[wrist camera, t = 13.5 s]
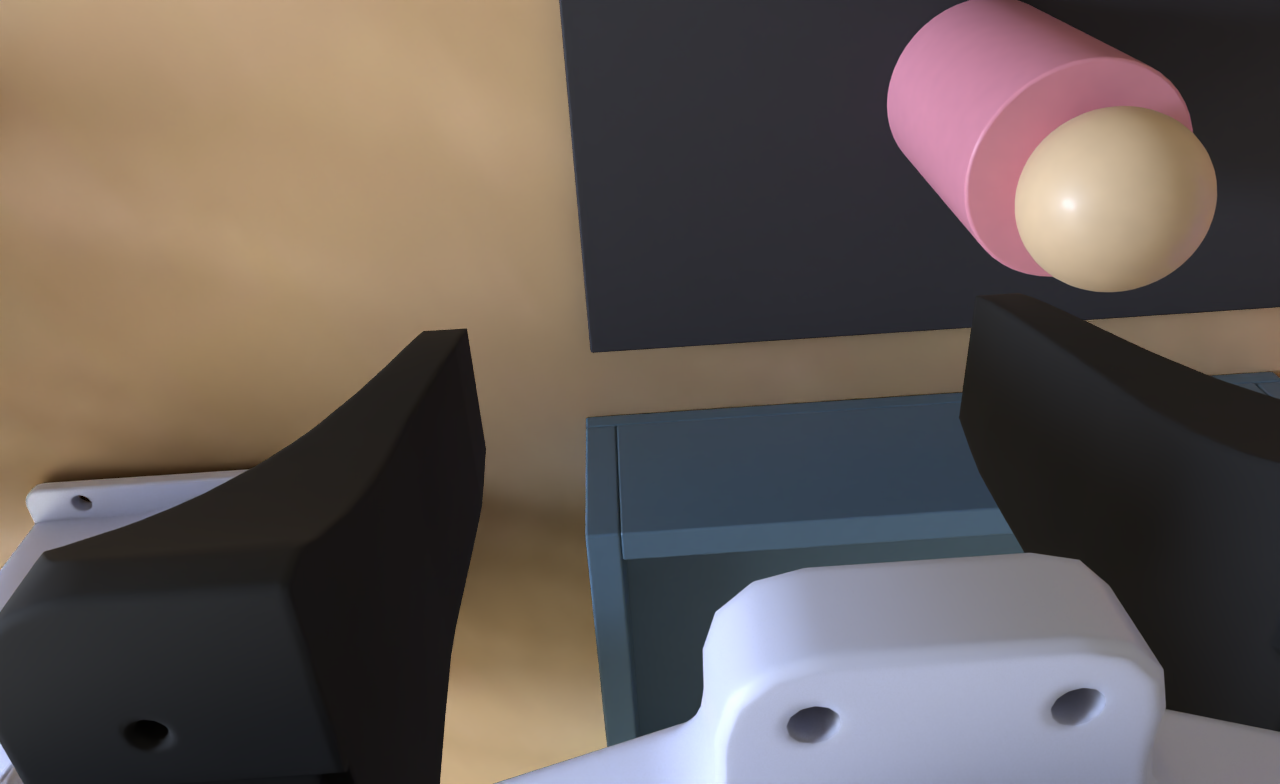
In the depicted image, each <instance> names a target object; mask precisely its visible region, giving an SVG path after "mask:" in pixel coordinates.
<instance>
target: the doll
mask: <svg viewBox="0 0 1280 784" xmlns="http://www.w3.org/2000/svg"><path fill="white" fill-rule="evenodd" d="M887 113H888V120H889V125H890V129H891V132H892V134H893V137H894V139H895V141H896V143H897V145H898V147H899V148H900V149H901V151H902V152H903V153H904V155H905V156H906V157H907V158H908V160H909V161H910V162H911V163H912V164H913V166H914V167H915V168H916V169H917V170H918V171H919V173H920V174H921V175H922V176H923V177H924V179H925V180H926V181H927V182H928V183H929V185H930V186H931V187H932V188H933V189H934V190H935V192H936V193H937V194H938V195H939V196H940V198H941V199H942V200H943V201H944V202H945V204H946V205H947V206H948V207H949V208H950V209H951V211H952V212H953V213H954V214H955V215H956V217H957V218H958V219H959V220H960V221H961V223H962V224H963V225H964V226H965V227H966V228H967V230H968V231H969V232H970V233H971V234H972V236H973V237H974V238H975V239H976V240H977V241H978V243H979V244H980V245H981V246H982V247H983V249H984V250H985V251H986V252H988V253H989V254H990V255H991V256H992V257H993V258H994V259H996V260H997V261H999V262H1000V263H1001V264H1003V265H1005V266H1007V267H1009V268H1011V269H1013V270H1016V271H1019V272H1022V273H1025V274H1031V275H1036V276H1049V277H1054V278H1056V279H1058V280H1060V281H1062V282H1064V283H1066V284H1068V285H1070V286H1073V287H1076V288H1080V289H1084V290H1089V291H1095V292H1121V291H1127V290H1133V289H1136V288H1139V287H1143V286H1146V285H1149V284H1151V283H1153V282H1156V281H1158V280H1160V279H1162V278H1164V277H1165V276H1167V275H1169V274H1170V273H1172V272H1173V271H1175V270H1176V269H1177V268H1178V267H1180V266H1181V265H1182V264H1183V263H1184V262H1185V261H1186V260H1187V259H1188V258H1189V257H1190V256H1191V255H1192V254H1193V253H1194V252H1195V251H1196V249H1197V248H1198V247H1199V245H1200V244H1201V242H1202V241H1203V239H1204V238H1205V236H1206V234H1207V232H1208V230H1209V227H1210V225H1211V222H1212V220H1213V216H1214V212H1215V208H1216V202H1217V180H1216V175H1215V170H1214V167H1213V165H1212V162H1211V159H1210V157H1209V154H1208V153H1207V151H1206V149H1205V147H1204V146H1203V145H1202V143H1201V142H1200V141H1199V139H1198V138H1197V137H1196V136H1195V135H1194V134H1193V129H1192V123H1191V118H1190V114H1189V111H1188V109H1187V106H1186V103H1185V101H1184V100H1183V98H1182V96H1181V94H1180V93H1179V91H1178V90H1177V88H1176V87H1175V86H1174V85H1173V84H1172V82H1171V81H1170V80H1169V79H1167V78H1166V77H1165V76H1164V75H1163V74H1162V73H1160V72H1159V71H1157V70H1156V69H1154V68H1152V67H1150V66H1149V65H1147V64H1145V63H1143V62H1141V61H1139V60H1137V59H1135V58H1133V57H1131V56H1129V55H1127V54H1125V53H1123V52H1121V51H1119V50H1117V49H1115V48H1113V47H1111V46H1109V45H1107V44H1105V43H1103V42H1102V41H1100V40H1098V39H1096V38H1094V37H1092V36H1090V35H1088V34H1086V33H1084V32H1082V31H1080V30H1078V29H1076V28H1074V27H1072V26H1070V25H1068V24H1066V23H1064V22H1062V21H1060V20H1058V19H1056V18H1054V17H1052V16H1050V15H1048V14H1046V13H1044V12H1042V11H1040V10H1038V9H1036V8H1035V7H1033V6H1031V5H1029V4H1026V3H1024V2H1021V1H1018V0H969V1H966V2H963V3H960V4H957V5H955V6H953V7H951V8H949V9H947V10H945V11H943V12H942V13H940V14H939V15H937V16H936V17H934V18H933V19H932V20H930V21H929V22H928V23H927V24H926V25H924V26H923V27H922V28H921V29H920V30H919V31H918V32H917V33H916V34H915V36H914V37H913V38H912V39H911V41H910V42H909V43H908V45H907V46H906V47H905V49H904V51H903V52H902V54H901V56H900V57H899V59H898V61H897V64H896V66H895V68H894V71H893V74H892V77H891V80H890V84H889V89H888V97H887Z"/></svg>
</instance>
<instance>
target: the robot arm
mask: <svg viewBox="0 0 1280 784" xmlns="http://www.w3.org/2000/svg"><path fill="white" fill-rule="evenodd" d="M959 419H960V422H961V425H962V428H963V431H964V434H965V436H966V439H967V442H968V445H969V448H970V451H971V453H972V456H973V458H974V461H975V463H976V466H977V468H978V471H979V473H980V475H981V477H982V479H983V481H984V482H985V484H986V486H987V488H988V490H989V492H990V493H991V495H992V497H993V499H994V500H995V502H996V504H997V506H998V508H999V509H1000V511H1001V513H1002V515H1003V516H1004V518H1005V520H1006V522H1007V523H1008V525H1009V527H1010V529H1011V530H1012V532H1013V534H1014V536H1015V537H1016V539H1017V541H1018V543H1019V544H1020V546H1021V548H1022V549H1023V551H1024V553H1019V554H1004V555H989V556H974V557H959V558H944V559H929V560H914V561H899V562H884V563H870V564H855V565H840V566H825V567H810V568H802V569H798V570H795V571H791V572H787V573H784V574H780V575H776V576H772V577H769V578H765V579H761V580H758V581H754V582H752V583H751V584H749V585H748V586H747V587H746V588H744V589H743V590H742V591H741V592H739V593H738V594H737V595H736V596H735V597H733V598H732V599H731V600H730V601H728V602H727V603H726V604H725V605H724V606H722V607H721V608H720V609H719V610H717V611H716V612H715V615H714V618H713V621H712V624H711V626H710V629H709V632H708V635H707V638H706V641H705V644H704V647H703V681H704V690H703V696H702V702H701V707H700V708H699V710H698V712H697V714H696V715H695V716H694V717H693V718H691V719H690V720H689V721H687V722H684V723H681V724H678V725H675V726H672V727H669V728H666V729H663V730H659V731H656V732H653V733H650V734H647V735H644V736H641V737H638V738H635V739H631V740H628V741H625V742H622V743H619V744H616V745H613V746H610V747H606V748H603V749H600V750H597V751H594V752H591V753H588V754H585V755H581V756H578V757H575V758H572V759H569V760H566V761H563V762H560V763H556V764H553V765H550V766H547V767H544V768H541V769H538V770H535V771H532V772H528V773H525V774H522V775H519V776H516V777H513V778H510V779H507V780H503V781H500V782H497V783H494V784H1280V399H1278V398H1274V397H1271V396H1268V395H1265V394H1262V393H1259V392H1256V391H1253V390H1250V389H1247V388H1244V387H1241V386H1237V385H1234V384H1231V383H1228V382H1225V381H1222V380H1220V379H1217V378H1214V377H1212V376H1209V375H1206V374H1203V373H1201V372H1198V371H1196V370H1193V369H1191V368H1189V367H1186V366H1184V365H1181V364H1179V363H1176V362H1174V361H1171V360H1169V359H1167V358H1164V357H1162V356H1159V355H1157V354H1155V353H1153V352H1150V351H1148V350H1146V349H1144V348H1141V347H1139V346H1137V345H1135V344H1133V343H1130V342H1128V341H1126V340H1124V339H1122V338H1120V337H1118V336H1115V335H1113V334H1111V333H1109V332H1107V331H1105V330H1103V329H1101V328H1099V327H1096V326H1094V325H1092V324H1090V323H1088V322H1086V321H1084V320H1082V319H1080V318H1078V317H1076V316H1074V315H1071V314H1069V313H1067V312H1065V311H1063V310H1061V309H1059V308H1056V307H1054V306H1052V305H1050V304H1048V303H1045V302H1043V301H1040V300H1038V299H1035V298H1033V297H1030V296H1027V295H1024V294H1021V293H1010V294H995V295H979V296H976V298H975V305H974V313H973V320H972V327H971V334H970V342H969V349H968V356H967V363H966V370H965V378H964V385H963V392H962V399H961V406H960V414H959ZM485 455H486V446H485V440H484V434H483V428H482V421H481V415H480V409H479V402H478V396H477V390H476V383H475V377H474V371H473V365H472V358H471V352H470V346H469V339H468V333H467V329H452V330H436V331H423V332H422V333H421V334H420V335H418V336H417V337H416V338H415V339H414V340H413V341H412V342H411V343H410V344H409V345H408V346H406V347H405V348H404V349H403V350H402V351H401V352H400V353H399V354H398V355H397V356H396V357H395V358H394V359H393V360H392V361H391V362H390V363H389V364H388V365H387V366H386V367H385V368H383V369H382V370H381V371H380V372H379V373H378V374H377V375H376V376H375V377H374V378H373V379H372V380H370V381H369V382H368V383H367V384H366V385H365V386H364V387H363V388H362V389H361V390H360V391H358V392H357V393H356V394H355V395H354V396H353V397H351V398H350V399H349V400H348V401H346V402H345V403H344V404H343V405H342V406H340V407H339V408H338V409H337V410H335V411H334V412H333V413H332V414H330V415H329V416H328V417H327V418H326V419H324V420H323V421H322V422H321V423H319V424H318V425H317V426H316V427H314V428H313V429H312V430H310V431H309V432H308V433H306V434H305V435H303V436H302V437H300V438H299V439H298V440H296V441H295V442H293V443H292V444H290V445H289V446H287V447H286V448H284V449H282V450H281V451H279V452H278V453H276V454H275V455H273V456H272V457H270V458H268V459H267V460H265V461H263V462H262V463H260V464H258V465H257V466H255V467H253V468H251V469H246V470H231V471H216V472H201V473H186V474H171V475H156V476H141V477H126V478H111V479H97V480H82V481H67V482H52V483H42V484H38V485H36V486H35V487H34V488H32V490H31V491H30V492H29V493H28V495H27V497H26V505H27V508H28V510H29V512H30V514H31V516H32V518H33V520H34V522H35V525H34V526H33V527H32V529H31V530H30V531H29V533H28V534H27V535H26V537H25V538H24V539H23V541H22V542H21V543H20V545H19V546H18V547H17V549H16V550H15V551H14V553H13V554H12V555H11V557H10V558H9V559H8V561H7V562H6V563H5V565H4V566H3V567H2V569H1V570H0V784H440V774H441V762H442V749H443V737H444V725H445V713H446V703H447V692H448V682H449V672H450V662H451V653H452V647H453V641H454V635H455V629H456V624H457V619H458V615H459V610H460V605H461V601H462V596H463V592H464V587H465V583H466V578H467V574H468V569H469V565H470V560H471V555H472V551H473V546H474V542H475V537H476V532H477V527H478V523H479V518H480V513H481V508H482V500H483V487H484V472H485ZM79 495H80V496H85V497H87V498H88V499H89V500H90V501H91V502H87V501H84V500H83V499H81V498H80V497H79Z"/></svg>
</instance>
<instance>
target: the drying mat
mask: <svg viewBox="0 0 1280 784" xmlns="http://www.w3.org/2000/svg"><path fill="white" fill-rule="evenodd" d="M966 1H969V0H559V3H560V14H561V25H562V37H563V48H564V59H565V70H566V81H567V93H568V104H569V115H570V126H571V137H572V149H573V160H574V171H575V182H576V193H577V204H578V216H579V227H580V238H581V249H582V260H583V272H584V283H585V294H586V305H587V316H588V328H589V339H590V350H591V352H593V353H594V352H609V351H624V350H640V349H655V348H670V347H685V346H700V345H715V344H730V343H745V342H760V341H775V340H790V339H805V338H821V337H836V336H851V335H866V334H881V333H896V332H911V331H926V330H941V329H956V328H971V327H972V320H973V313H974V305H975V298H976V296H979V295H995V294H1010V293H1021V294H1024V295H1027V296H1030V297H1033V298H1035V299H1038V300H1040V301H1043V302H1045V303H1048V304H1050V305H1052V306H1054V307H1056V308H1059V309H1061V310H1063V311H1065V312H1067V313H1069V314H1071V315H1074V316H1076V317H1078V318H1080V319H1082V320H1092V319H1107V318H1122V317H1137V316H1152V315H1167V314H1183V313H1198V312H1213V311H1228V310H1243V309H1258V308H1273V307H1280V0H1018V1H1021V2H1024V3H1026V4H1029V5H1031V6H1033V7H1035V8H1036V9H1038V10H1040V11H1042V12H1044V13H1046V14H1048V15H1050V16H1052V17H1054V18H1056V19H1058V20H1060V21H1062V22H1064V23H1066V24H1068V25H1070V26H1072V27H1074V28H1076V29H1078V30H1080V31H1082V32H1084V33H1086V34H1088V35H1090V36H1092V37H1094V38H1096V39H1098V40H1100V41H1102V42H1103V43H1105V44H1107V45H1109V46H1111V47H1113V48H1115V49H1117V50H1119V51H1121V52H1123V53H1125V54H1127V55H1129V56H1131V57H1133V58H1135V59H1137V60H1139V61H1141V62H1143V63H1145V64H1147V65H1149V66H1150V67H1152V68H1154V69H1156V70H1157V71H1159V72H1160V73H1162V74H1163V75H1164V76H1165V77H1166V78H1167V79H1169V80H1170V81H1171V82H1172V84H1173V85H1174V86H1175V87H1176V88H1177V90H1178V91H1179V93H1180V94H1181V96H1182V98H1183V100H1184V101H1185V103H1186V106H1187V109H1188V111H1189V114H1190V118H1191V123H1192V129H1193V134H1194V135H1195V136H1196V137H1197V138H1198V139H1199V141H1200V142H1201V143H1202V145H1203V146H1204V147H1205V149H1206V151H1207V153H1208V154H1209V157H1210V159H1211V162H1212V165H1213V167H1214V170H1215V175H1216V180H1217V202H1216V208H1215V212H1214V216H1213V220H1212V222H1211V225H1210V227H1209V230H1208V232H1207V234H1206V236H1205V238H1204V239H1203V241H1202V242H1201V244H1200V245H1199V247H1198V248H1197V249H1196V251H1195V252H1194V253H1193V254H1192V255H1191V256H1190V257H1189V258H1188V259H1187V260H1186V261H1185V262H1184V263H1183V264H1182V265H1181V266H1180V267H1178V268H1177V269H1176V270H1175V271H1173V272H1172V273H1170V274H1169V275H1167V276H1165V277H1164V278H1162V279H1160V280H1158V281H1156V282H1153V283H1151V284H1149V285H1146V286H1143V287H1139V288H1136V289H1133V290H1127V291H1121V292H1095V291H1089V290H1084V289H1080V288H1076V287H1073V286H1070V285H1068V284H1066V283H1064V282H1062V281H1060V280H1058V279H1056V278H1054V277H1049V276H1036V275H1031V274H1025V273H1022V272H1019V271H1016V270H1013V269H1011V268H1009V267H1007V266H1005V265H1003V264H1001V263H1000V262H999V261H997V260H996V259H994V258H993V257H992V256H991V255H990V254H989V253H988V252H986V251H985V250H984V249H983V247H982V246H981V245H980V244H979V243H978V241H977V240H976V239H975V238H974V237H973V236H972V234H971V233H970V232H969V231H968V230H967V228H966V227H965V226H964V225H963V224H962V223H961V221H960V220H959V219H958V218H957V217H956V215H955V214H954V213H953V212H952V211H951V209H950V208H949V207H948V206H947V205H946V204H945V202H944V201H943V200H942V199H941V198H940V196H939V195H938V194H937V193H936V192H935V190H934V189H933V188H932V187H931V186H930V185H929V183H928V182H927V181H926V180H925V179H924V177H923V176H922V175H921V174H920V173H919V171H918V170H917V169H916V168H915V167H914V166H913V164H912V163H911V162H910V161H909V160H908V158H907V157H906V156H905V155H904V153H903V152H902V151H901V149H900V148H899V147H898V145H897V143H896V141H895V139H894V137H893V134H892V132H891V129H890V125H889V120H888V113H887V97H888V89H889V84H890V80H891V77H892V74H893V71H894V68H895V66H896V64H897V61H898V59H899V57H900V56H901V54H902V52H903V51H904V49H905V47H906V46H907V45H908V43H909V42H910V41H911V39H912V38H913V37H914V36H915V34H916V33H917V32H918V31H919V30H920V29H921V28H922V27H923V26H924V25H926V24H927V23H928V22H929V21H930V20H932V19H933V18H934V17H936V16H937V15H939V14H940V13H942V12H943V11H945V10H947V9H949V8H951V7H953V6H955V5H957V4H960V3H963V2H966Z"/></svg>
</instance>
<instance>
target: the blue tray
mask: <svg viewBox="0 0 1280 784" xmlns="http://www.w3.org/2000/svg"><path fill="white" fill-rule="evenodd" d="M1212 377H1214V378H1217V379H1220V380H1222V381H1225V382H1228V383H1231V384H1234V385H1237V386H1241V387H1244V388H1247V389H1250V390H1253V391H1256V392H1259V393H1262V394H1265V395H1268V396H1271V397H1274V398H1278V399H1280V378H1279V377H1278V376H1277V375H1276V374H1275V373H1273V372H1260V373H1245V374H1230V375H1215V376H1212ZM961 399H962V392H961V393H946V394H931V395H916V396H901V397H886V398H871V399H856V400H841V401H826V402H811V403H796V404H781V405H767V406H752V407H737V408H722V409H707V410H692V411H677V412H662V413H647V414H632V415H617V416H602V417H588V418H587V419H586V516H585V538H586V548H587V558H588V567H589V577H590V586H591V596H592V606H593V615H594V625H595V634H596V644H597V654H598V663H599V673H600V682H601V692H602V702H603V711H604V721H605V730H606V740H607V747H610V746H613V745H616V744H619V743H622V742H625V741H628V740H631V739H635V738H638V737H641V736H644V735H647V734H650V733H653V732H656V731H659V730H663V729H666V728H669V727H672V726H675V725H678V724H681V723H684V722H687V721H689V720H690V719H691V718H693V717H694V716H695V715H696V714H697V712H698V710H699V708H700V707H701V702H702V696H703V690H704V681H703V647H704V644H705V641H706V638H707V635H708V632H709V629H710V626H711V624H712V621H713V618H714V615H715V612H716V611H717V610H719V609H720V608H721V607H722V606H724V605H725V604H726V603H727V602H728V601H730V600H731V599H732V598H733V597H735V596H736V595H737V594H738V593H739V592H741V591H742V590H743V589H744V588H746V587H747V586H748V585H749V584H751V583H752V582H754V581H758V580H761V579H765V578H769V577H772V576H776V575H780V574H784V573H787V572H791V571H795V570H798V569H802V568H810V567H825V566H840V565H855V564H870V563H884V562H899V561H914V560H929V559H944V558H959V557H974V556H989V555H1004V554H1019V553H1024V551H1023V549H1022V548H1021V546H1020V544H1019V543H1018V541H1017V539H1016V537H1015V536H1014V534H1013V532H1012V530H1011V529H1010V527H1009V525H1008V523H1007V522H1006V520H1005V518H1004V516H1003V515H1002V513H1001V511H1000V509H999V508H998V506H997V504H996V502H995V500H994V499H993V497H992V495H991V493H990V492H989V490H988V488H987V486H986V484H985V482H984V481H983V479H982V477H981V475H980V473H979V471H978V468H977V466H976V463H975V461H974V458H973V456H972V453H971V451H970V448H969V445H968V442H967V439H966V436H965V434H964V431H963V428H962V425H961V422H960V419H959V414H960V406H961Z"/></svg>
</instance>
